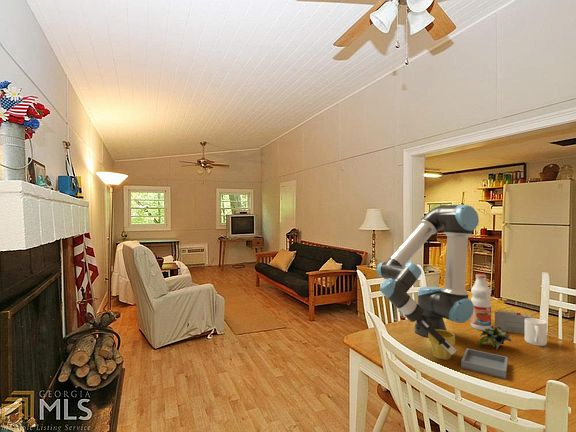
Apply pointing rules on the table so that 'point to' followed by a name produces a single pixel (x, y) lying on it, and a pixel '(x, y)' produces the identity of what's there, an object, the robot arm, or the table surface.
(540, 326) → the mug
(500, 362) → the tray
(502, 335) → the green leafy plant
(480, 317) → the fruit juice
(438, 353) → the plant pot
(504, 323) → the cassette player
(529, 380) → the table surface
